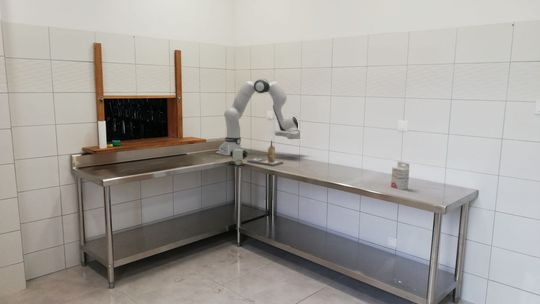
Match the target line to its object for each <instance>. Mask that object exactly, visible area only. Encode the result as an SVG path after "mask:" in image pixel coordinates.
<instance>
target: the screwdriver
mask: <svg viewBox="0 0 540 304" xmlns="http://www.w3.org/2000/svg"><path fill="white" fill-rule="evenodd" d="M275 149H276V148H275V146H273V140H270V146H268V147H267V160H268V162H269V163H274V162H275V161H276V159H275V157H276V156H275V155H276V150H275Z"/></svg>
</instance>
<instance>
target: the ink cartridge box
mask: <svg viewBox="0 0 540 304" xmlns="http://www.w3.org/2000/svg"><path fill="white" fill-rule="evenodd" d="M409 178H410V164H409V163H406V162H402V161H397V166H392V168H391V184H390V187H391V188H394V189H399V190H400V191H401V190H408V188H409Z"/></svg>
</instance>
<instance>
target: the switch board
mask: <svg viewBox="0 0 540 304" xmlns="http://www.w3.org/2000/svg"><path fill="white" fill-rule="evenodd" d="M246 162H247V163H251V164H255V165H256V164H257V165H264V166H268V167H270V166H271V167H275V166H280V165H283V164H284V161H278V160H275V162H274V163H269V162H268V159H266V158H265V159H264V158H256V157H255V158H252V159H247V160H246Z"/></svg>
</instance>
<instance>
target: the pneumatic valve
mask: <svg viewBox="0 0 540 304" xmlns="http://www.w3.org/2000/svg"><path fill="white" fill-rule="evenodd" d="M229 157H231V159H235V161H234V165H235V166H241V165H243V160H246V158H248V152H247V150H246V149H241V150H240V149H239V148H238V149H233V150H232V151H231V152H230V155H229Z"/></svg>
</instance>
